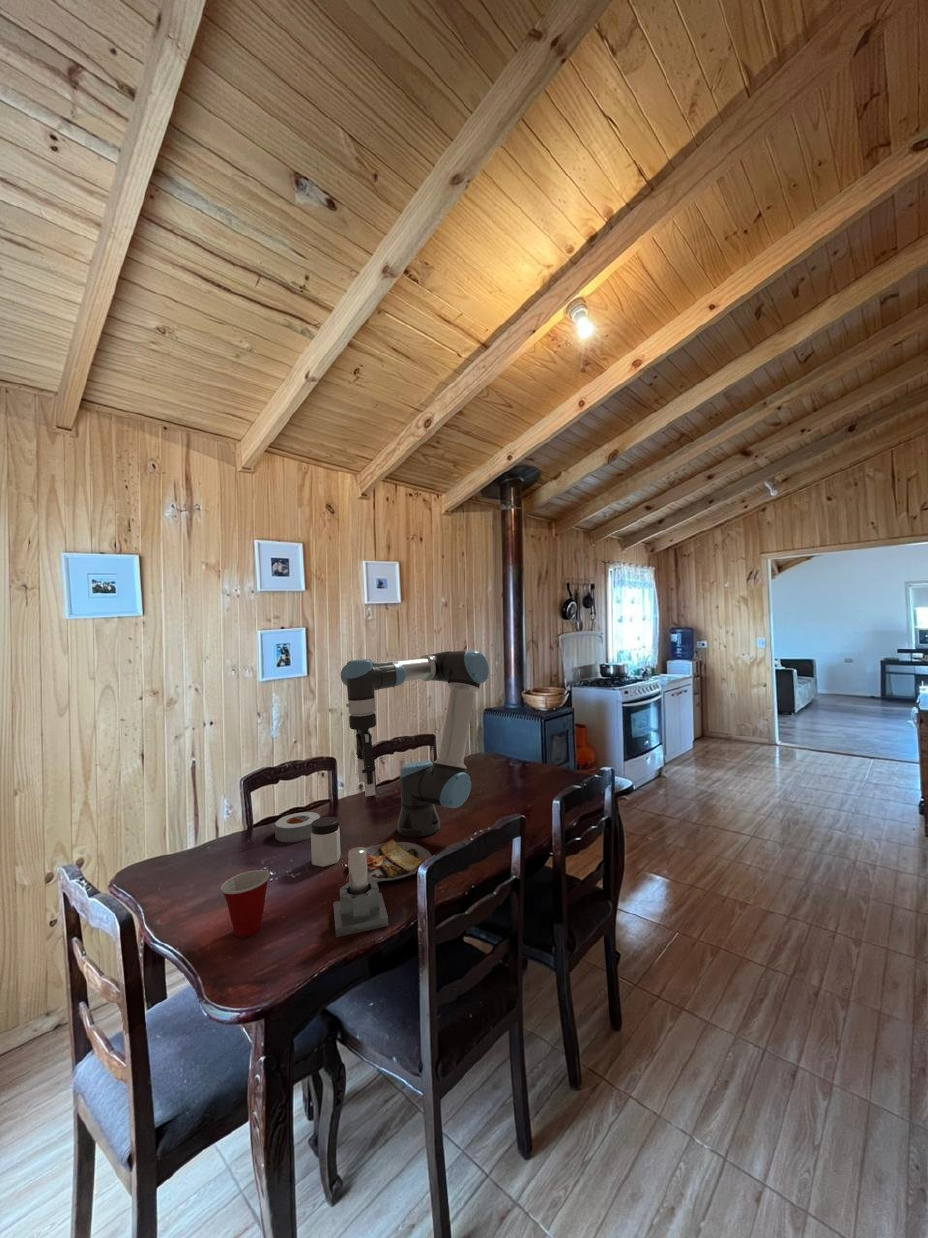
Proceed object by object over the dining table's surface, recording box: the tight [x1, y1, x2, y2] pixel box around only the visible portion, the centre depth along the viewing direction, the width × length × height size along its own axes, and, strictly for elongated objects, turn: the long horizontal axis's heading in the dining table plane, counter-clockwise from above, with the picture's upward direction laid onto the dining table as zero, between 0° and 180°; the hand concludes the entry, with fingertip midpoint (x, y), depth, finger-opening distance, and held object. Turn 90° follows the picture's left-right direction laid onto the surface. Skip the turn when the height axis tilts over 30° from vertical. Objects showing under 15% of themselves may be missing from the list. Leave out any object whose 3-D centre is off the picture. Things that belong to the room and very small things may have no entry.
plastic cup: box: [220, 869, 271, 938], centre depth 116 cm, size 11×11×12 cm
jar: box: [310, 816, 342, 868], centre depth 151 cm, size 9×8×12 cm
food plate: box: [347, 838, 432, 883], centre depth 146 cm, size 25×23×4 cm
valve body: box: [332, 873, 389, 938], centre depth 121 cm, size 12×16×7 cm
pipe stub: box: [347, 846, 369, 895], centre depth 119 cm, size 4×4×14 cm
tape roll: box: [274, 811, 321, 843], centre depth 174 cm, size 15×15×5 cm
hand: (366, 788), depth 139 cm, fingers open, 13 cm apart
